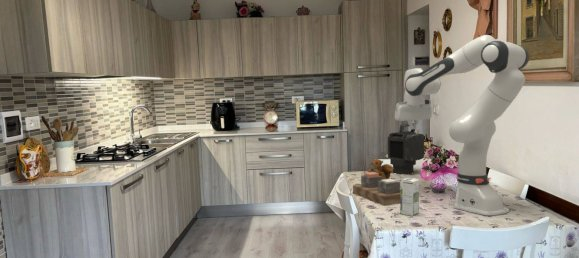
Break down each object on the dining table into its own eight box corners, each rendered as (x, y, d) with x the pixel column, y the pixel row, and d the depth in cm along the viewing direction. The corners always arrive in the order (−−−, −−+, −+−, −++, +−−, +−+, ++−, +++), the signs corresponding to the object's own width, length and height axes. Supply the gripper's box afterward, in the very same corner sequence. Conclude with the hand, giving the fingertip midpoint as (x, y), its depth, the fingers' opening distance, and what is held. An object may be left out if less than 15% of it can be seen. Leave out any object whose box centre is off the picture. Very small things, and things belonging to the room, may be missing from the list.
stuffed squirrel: (364, 181, 244) (364, 158, 243) (385, 179, 249) (385, 156, 248) (374, 185, 235) (373, 160, 234) (396, 182, 240) (396, 158, 239)
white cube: (396, 191, 201) (396, 180, 201) (387, 192, 199) (387, 181, 199) (390, 189, 206) (390, 178, 205) (381, 190, 204) (381, 179, 203)
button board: (409, 201, 200) (409, 182, 199) (384, 205, 195) (383, 185, 194) (376, 189, 224) (376, 172, 223) (352, 193, 218) (352, 175, 217)
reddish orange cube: (378, 183, 214) (378, 173, 213) (370, 184, 212) (370, 174, 211) (372, 181, 218) (372, 171, 218) (364, 182, 216) (364, 172, 216)
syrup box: (405, 210, 186) (405, 177, 184) (419, 213, 182) (419, 178, 181) (399, 214, 181) (399, 179, 180) (413, 216, 178) (413, 181, 176)
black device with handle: (400, 169, 277) (400, 122, 274) (425, 173, 263) (425, 123, 260) (385, 172, 267) (385, 123, 264) (410, 176, 254) (410, 125, 251)
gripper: (400, 102, 209) (399, 130, 211) (433, 100, 217) (433, 128, 219) (391, 101, 215) (391, 129, 216) (425, 100, 223) (424, 127, 225)
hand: (413, 129), depth 218 cm, fingers closed
